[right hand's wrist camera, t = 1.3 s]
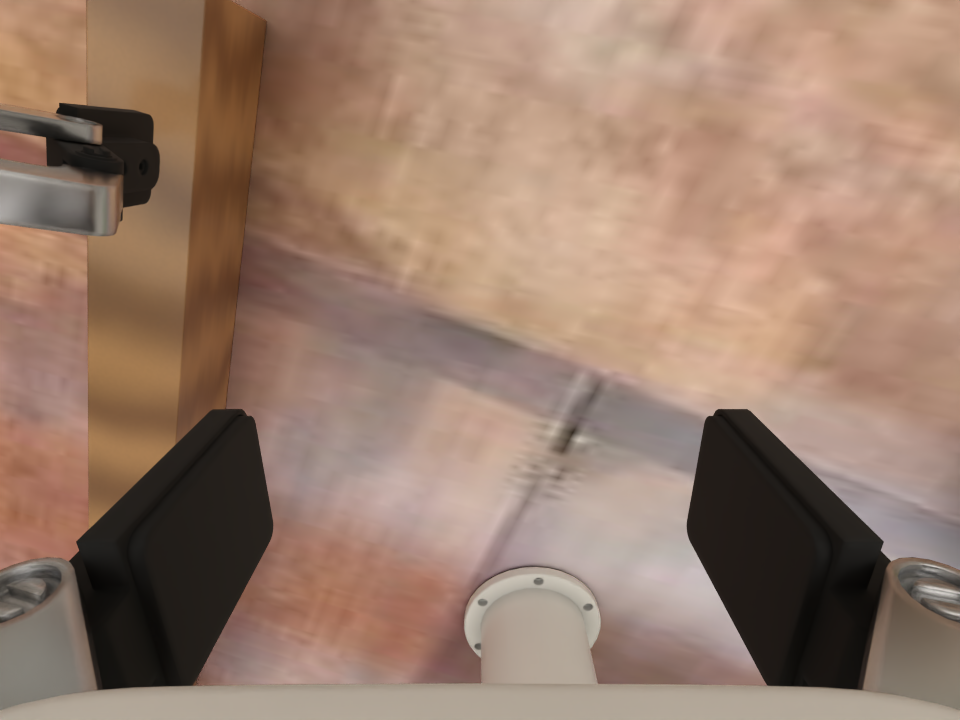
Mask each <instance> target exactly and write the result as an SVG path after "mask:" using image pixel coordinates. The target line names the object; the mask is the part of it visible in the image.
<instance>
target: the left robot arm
mask: <svg viewBox="0 0 960 720" xmlns="http://www.w3.org/2000/svg"><path fill="white" fill-rule="evenodd" d="M0 130H3V131H10V132H16V133H23V134H29V135H36V136H42V137H46V147H47V166H41V165H35V164H29V163H23V162H18V161H12V160H7V159H1V158H0V224H7V225H14V226H22V227H29V228H37V229H44V230H52V231H59V232H66V233H74V234H81V235H89V236H112V235H115V234H116V232H117V229H118V226H119V223H120V222H121V221H122V220H123V208H125V207H131V206H136V205H142V204H146V203H147V202H148V201H149V199H150V196H151V189H153V188H154V187H155V185H156V183H157V181H158V178H159V172H160V154H159V150H158V148H157V146H156V145H155V144H153V134H154V122H153V118H152V116H151V115H149V114H146V113H143V112H139V111H136V110H129V109H119V108H108V107H98V106H87V105H76V104H66V103H59V108H58V110H57V112H56V113H51V112H45V111H40V110H34V109H29V108H24V107H18V106H13V105H7V104H2V103H0Z"/></svg>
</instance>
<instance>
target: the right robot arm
mask: <svg viewBox="0 0 960 720" xmlns="http://www.w3.org/2000/svg"><path fill="white" fill-rule="evenodd" d="M272 533H273V519H272V513H271V508H270V502H269V497H268V491H267V485H266V480H265V474H264V468H263V463H262V457H261V452H260V446H259V440H258V435H257V429H256V424H255V420H254V418H253V417H252V416H247V415H246V413H245V411H243V410H242V409H212V410H211V411H209V412H208V413H207V414H206V415H205V416H204V417H203V418H202V419H201V420H200V421H199V422H198V423H197V424H196V425H195V426H194V427H193V428H192V429H191V430H190V431H189V432H188V433H187V434H186V435H185V436H184V437H183V438H182V439H181V440H180V441H179V442H178V443H177V444H176V445H175V446H174V447H173V448H172V449H171V450H170V451H169V452H168V453H166V454H165V455H164V456H163V457H162V458H161V459H160V460H159V461H158V462H157V463H156V464H155V465H154V466H153V467H152V468H151V469H150V470H149V471H148V472H147V473H146V474H145V475H144V476H143V477H142V478H141V479H140V480H139V481H138V482H137V483H136V484H135V485H134V486H133V487H132V488H131V489H130V490H129V491H128V492H127V493H126V494H125V495H124V496H123V497H121V498H120V499H119V500H118V501H117V502H116V503H115V504H114V505H113V506H112V507H111V508H110V509H109V510H108V511H107V512H106V513H105V514H104V515H103V516H102V517H101V518H100V519H99V520H98V521H97V522H96V523H95V524H94V525H93V526H92V527H91V528H90V529H89V530H88V531H87V532H86V533H85V534H84V535H83V536H82V537H81V538H80V539H79V540H78V541H76V542H77V545H78V548H79V552H78V553H77V554H76V555H75V556H74V557H73V558H72V559H71V560H70V561H69V562H68V561H66V560H64V559H62V558H50V557H46V558H39V559H32V560H28V561H24V562H21V563H18V564H14V565H11V566H9V567H7V568H4V569H2V570H0V720H960V570H958V569H956V568H953V567H951V566H949V565H946V564H942V563H939V562H936V561H932V560H928V559H921V558H914V557H910V558H898V559H896V560H894V561H892V562H891V561H890V560H889V559H888V558H887V557H886V556H885V555H884V554H883V553H882V552H881V548H882V545H883V542H884V541H882V540H881V539H880V538H879V537H878V536H877V535H876V534H875V533H874V532H873V531H872V530H871V529H870V528H869V527H868V526H867V525H866V524H865V523H864V522H863V521H862V520H861V519H860V518H859V517H858V516H857V515H856V514H855V513H854V512H853V511H852V510H851V509H850V508H849V507H848V506H847V505H846V504H845V503H844V502H843V501H842V500H841V499H840V498H839V497H837V496H836V495H835V494H834V493H833V492H832V491H831V490H830V489H829V488H828V487H827V486H826V485H825V484H824V483H823V482H822V481H821V480H820V479H819V478H818V477H817V476H816V475H815V474H814V473H813V472H812V471H811V470H810V469H809V468H808V467H807V466H806V465H805V464H804V463H803V462H802V461H801V460H800V459H799V458H798V457H797V456H796V455H795V454H794V453H792V452H791V451H790V450H789V449H788V448H787V447H786V446H785V445H784V444H783V443H782V442H781V441H780V440H779V439H778V438H777V437H776V436H775V435H774V434H773V433H772V432H771V431H770V430H769V429H768V428H767V427H766V426H765V425H764V424H763V423H762V422H761V421H760V420H759V419H758V418H757V417H756V416H755V415H754V414H753V413H752V412H751V411H749V410H748V409H718V410H717V411H715V413H714V415H713V416H708V417H707V418H706V420H705V424H704V429H703V435H702V440H701V446H700V452H699V457H698V463H697V468H696V474H695V480H694V485H693V491H692V497H691V502H690V508H689V513H688V519H687V533H688V537H689V540H690V542H691V544H692V546H693V548H694V550H695V551H696V553H697V555H698V557H699V559H700V561H701V563H702V565H703V566H704V568H705V570H706V572H707V574H708V576H709V578H710V580H711V581H712V583H713V585H714V587H715V589H716V591H717V593H718V595H719V596H720V598H721V600H722V602H723V604H724V606H725V608H726V610H727V611H728V613H729V615H730V617H731V619H732V621H733V623H734V625H735V626H736V628H737V630H738V632H739V634H740V636H741V638H742V640H743V642H744V643H745V645H746V647H747V649H748V651H749V653H750V655H751V657H752V658H753V660H754V662H755V664H756V666H757V668H758V670H759V672H760V673H761V675H762V677H763V679H764V681H765V682H766V684H767V685H768V686H757V685H678V684H598V683H597V678H596V674H595V669H594V664H593V660H592V655H591V651H590V649H591V648H592V646H593V644H594V643H595V641H596V640H597V637H598V634H599V631H600V625H601V618H600V613H599V608H598V605H597V602H596V599H595V597H594V596H593V594H592V592H591V591H590V590H589V589H588V588H587V587H586V586H585V585H584V584H583V583H582V582H581V581H579V580H578V579H576V578H575V577H573V576H572V575H569V574H567V573H564V572H562V571H559V570H555V569H550V568H542V567H526V568H518V569H514V570H509V571H506V572H504V573H501V574H498V575H496V576H494V577H493V578H491V579H489V580H488V581H486V582H485V583H484V584H482V585H481V586H480V587H479V588H478V589H477V590H476V591H475V592H474V594H473V595H472V596H471V598H470V600H469V602H468V604H467V606H466V610H465V615H464V630H465V635H466V639H467V641H468V643H469V645H470V647H471V648H472V649H473V651H474V652H475V653H476V654H477V655H478V656H479V657H480V658H481V683H462V684H282V685H203V686H192V685H193V684H194V682H195V681H196V679H197V677H198V675H199V673H200V672H201V670H202V668H203V666H204V664H205V662H206V660H207V658H208V657H209V655H210V653H211V651H212V649H213V647H214V645H215V643H216V642H217V640H218V638H219V636H220V634H221V632H222V630H223V628H224V626H225V625H226V623H227V621H228V619H229V617H230V615H231V613H232V611H233V610H234V608H235V606H236V604H237V602H238V600H239V598H240V596H241V595H242V593H243V591H244V589H245V587H246V585H247V583H248V581H249V580H250V578H251V576H252V574H253V572H254V570H255V568H256V566H257V565H258V563H259V561H260V559H261V557H262V555H263V553H264V551H265V550H266V548H267V546H268V544H269V542H270V540H271V537H272Z"/></svg>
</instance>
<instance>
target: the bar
mask: <svg viewBox="0 0 960 720" xmlns="http://www.w3.org/2000/svg"><path fill="white" fill-rule="evenodd" d="M86 24H87V106H98V107H108V108H119V109H129V110H136V111H139V112H143V113H146V114H149V115H151V116H152V118H153V122H154V134H153V144H155V145H156V146H157V148H158V150H159V154H160V172H159V178H158V181H157V183H156V185H155V187H154V188H153V189H151V196H150V199H149V201H148V202H147V203H146V204H142V205H136V206H131V207H125V208H123V220H122V221H121V222H120V223H119V226H118V229H117V232H116V234H115V235H112V236H89V235H87V250H88V475H89V529H90V528H91V527H92V526H93V525H94V524H95V523H96V522H97V521H98V520H99V519H100V518H101V517H102V516H103V515H104V514H105V513H106V512H107V511H108V510H109V509H110V508H111V507H112V506H113V505H114V504H115V503H116V502H117V501H118V500H119V499H120V498H121V497H123V496H124V495H125V494H126V493H127V492H128V491H129V490H130V489H131V488H132V487H133V486H134V485H135V484H136V483H137V482H138V481H139V480H140V479H141V478H142V477H143V476H144V475H145V474H146V473H147V472H148V471H149V470H150V469H151V468H152V467H153V466H154V465H155V464H156V463H157V462H158V461H159V460H160V459H161V458H162V457H163V456H164V455H165V454H166V453H168V452H169V451H170V450H171V449H172V448H173V447H174V446H175V445H176V444H177V443H178V442H179V441H180V440H181V439H182V438H183V437H184V436H185V435H186V434H187V433H188V432H189V431H190V430H191V429H192V428H193V427H194V426H195V425H196V424H197V423H198V422H199V421H200V420H201V419H202V418H203V417H204V416H205V415H206V414H207V413H208V412H209V411H211V410H212V409H225V408H226V399H227V389H228V380H229V370H230V361H231V352H232V342H233V333H234V323H235V314H236V304H237V295H238V286H239V276H240V267H241V257H242V248H243V238H244V229H245V220H246V210H247V201H248V191H249V182H250V172H251V163H252V154H253V144H254V135H255V125H256V116H257V106H258V97H259V88H260V78H261V69H262V59H263V50H264V40H265V31H266V20H265V19H263V18H261V17H259V16H257V15H256V14H254V13H252V12H250V11H249V10H247V9H245V8H243V7H242V6H240V5H238V4H236V3H235V2H233V1H231V0H86ZM196 682H197V679H196V681H195V682H194V684H193V685H192V686H196Z"/></svg>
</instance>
